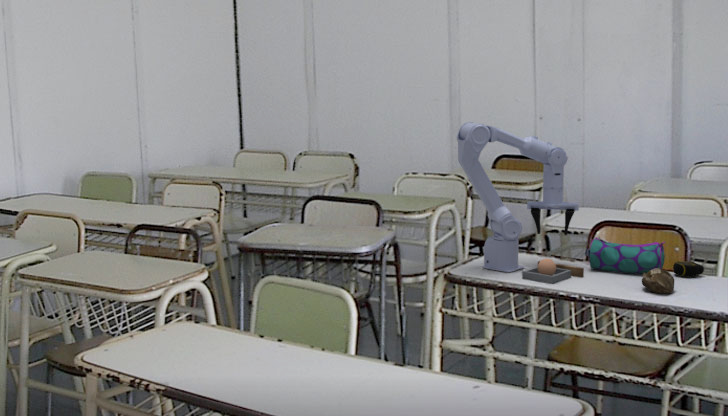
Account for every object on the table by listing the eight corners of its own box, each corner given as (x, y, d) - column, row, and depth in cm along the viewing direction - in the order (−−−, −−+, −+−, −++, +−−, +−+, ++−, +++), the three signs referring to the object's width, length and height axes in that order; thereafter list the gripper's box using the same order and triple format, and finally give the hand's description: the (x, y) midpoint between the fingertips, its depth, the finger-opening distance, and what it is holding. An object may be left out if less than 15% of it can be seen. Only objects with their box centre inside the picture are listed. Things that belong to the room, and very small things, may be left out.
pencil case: (584, 272, 237) (585, 238, 236) (591, 265, 245) (592, 233, 244) (661, 279, 228) (662, 244, 226) (666, 272, 235) (667, 238, 234)
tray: (522, 278, 231) (522, 271, 230) (541, 272, 237) (541, 265, 237) (552, 284, 224) (552, 276, 224) (571, 277, 231) (571, 270, 230)
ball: (534, 276, 231) (533, 259, 230) (544, 273, 234) (544, 256, 233) (549, 279, 227) (549, 261, 226) (559, 276, 231) (559, 258, 230)
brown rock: (636, 276, 221) (638, 291, 212) (651, 256, 219) (654, 271, 210) (661, 291, 221) (664, 307, 212) (676, 271, 218) (680, 287, 209)
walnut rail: (537, 270, 240) (537, 261, 240) (539, 269, 241) (540, 260, 241) (581, 277, 230) (581, 268, 230) (583, 276, 231) (583, 267, 231)
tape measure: (704, 277, 229) (705, 263, 229) (687, 280, 226) (688, 266, 226) (684, 272, 235) (685, 259, 235) (667, 275, 232) (668, 261, 232)
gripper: (526, 189, 240) (525, 235, 242) (578, 190, 236) (577, 237, 238) (529, 185, 247) (528, 231, 249) (579, 187, 242) (578, 233, 245)
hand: (552, 233), depth 244 cm, fingers open, 7 cm apart
